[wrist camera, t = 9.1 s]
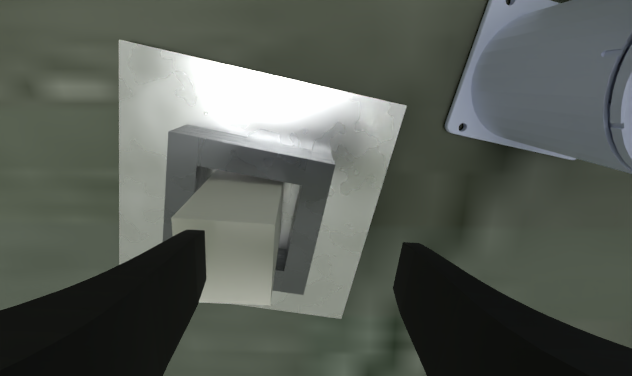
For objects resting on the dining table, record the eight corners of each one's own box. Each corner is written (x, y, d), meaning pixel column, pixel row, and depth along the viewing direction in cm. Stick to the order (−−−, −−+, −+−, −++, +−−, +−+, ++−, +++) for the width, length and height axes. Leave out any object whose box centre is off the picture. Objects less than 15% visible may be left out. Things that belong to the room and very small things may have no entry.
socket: (401, 104, 18) (423, 109, 15) (339, 309, 23) (345, 346, 20) (129, 41, 16) (86, 31, 13) (127, 279, 22) (96, 315, 18)
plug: (284, 173, 18) (274, 224, 12) (280, 230, 20) (270, 305, 13) (218, 167, 18) (171, 217, 11) (219, 226, 19) (177, 301, 13)
